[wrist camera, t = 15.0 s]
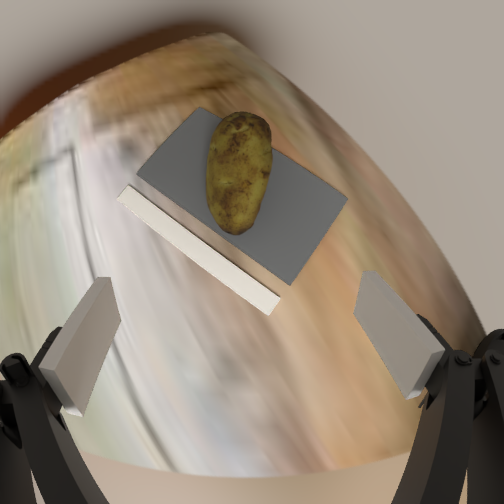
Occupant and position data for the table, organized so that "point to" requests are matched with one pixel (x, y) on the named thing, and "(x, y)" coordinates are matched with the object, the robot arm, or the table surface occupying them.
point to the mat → (272, 206)
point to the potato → (238, 171)
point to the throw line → (199, 251)
